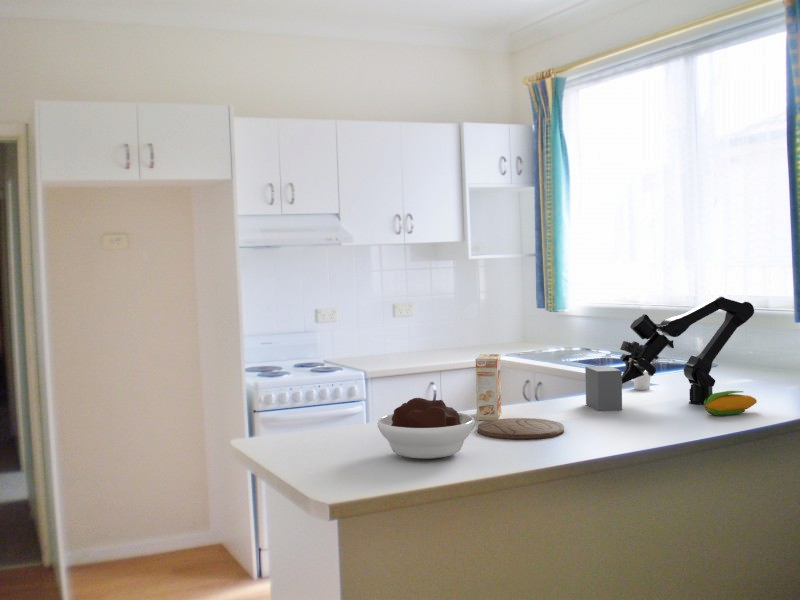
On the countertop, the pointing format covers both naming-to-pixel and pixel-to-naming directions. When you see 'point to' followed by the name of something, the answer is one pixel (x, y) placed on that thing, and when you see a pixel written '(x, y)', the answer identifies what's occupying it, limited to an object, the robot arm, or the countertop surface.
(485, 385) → the coffeecake box
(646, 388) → the shot glass
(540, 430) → the trivet
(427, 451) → the bowl of chocolate pudding
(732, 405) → the corn
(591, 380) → the block
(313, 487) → the countertop surface
